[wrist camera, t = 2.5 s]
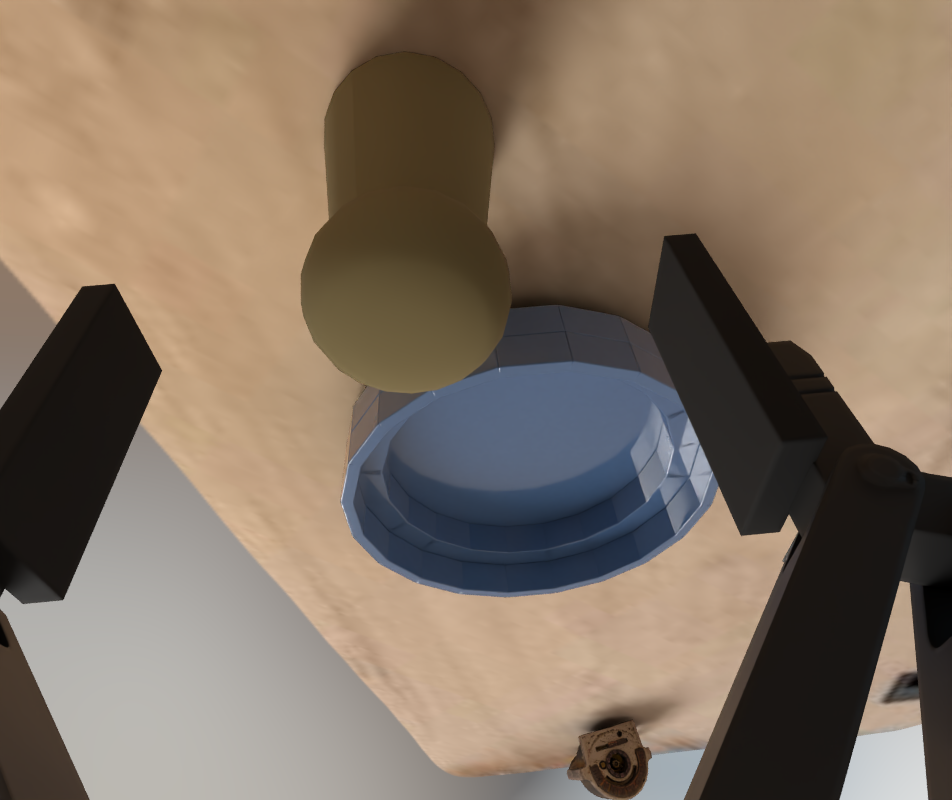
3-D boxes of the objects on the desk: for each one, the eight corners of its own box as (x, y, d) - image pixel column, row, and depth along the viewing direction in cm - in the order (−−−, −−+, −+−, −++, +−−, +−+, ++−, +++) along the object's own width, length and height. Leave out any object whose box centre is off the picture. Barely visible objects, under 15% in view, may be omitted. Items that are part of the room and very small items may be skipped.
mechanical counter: (689, 775, 63) (616, 795, 58) (621, 821, 70) (551, 842, 65) (654, 704, 68) (584, 717, 63) (594, 753, 75) (526, 769, 70)
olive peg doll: (512, 195, 24) (560, 394, 16) (365, 241, 25) (342, 450, 17) (465, 24, 20) (499, 179, 12) (291, 87, 21) (215, 269, 13)
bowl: (313, 313, 27) (298, 383, 24) (729, 278, 27) (770, 343, 24) (380, 543, 40) (377, 609, 37) (662, 518, 40) (684, 582, 37)
